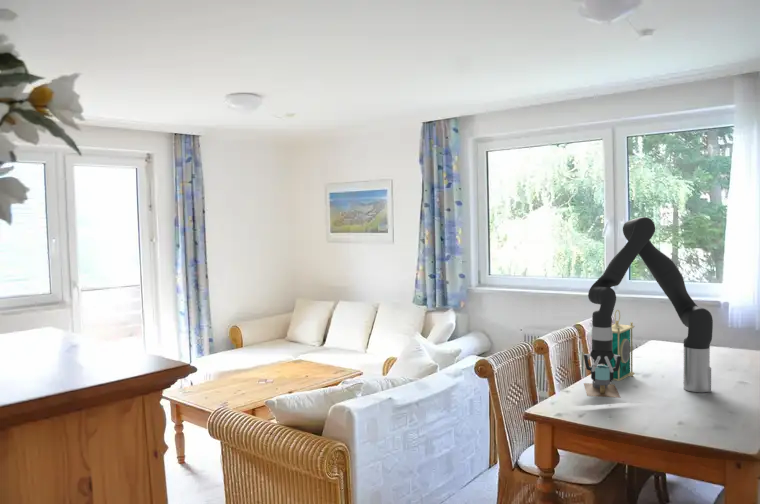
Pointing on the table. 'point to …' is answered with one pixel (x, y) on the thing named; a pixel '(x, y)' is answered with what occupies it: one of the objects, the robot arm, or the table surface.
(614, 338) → the carriage clock
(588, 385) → the brown peg stand
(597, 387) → the grey sleeve
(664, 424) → the table surface
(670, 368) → the table surface
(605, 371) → the teal sleeve
